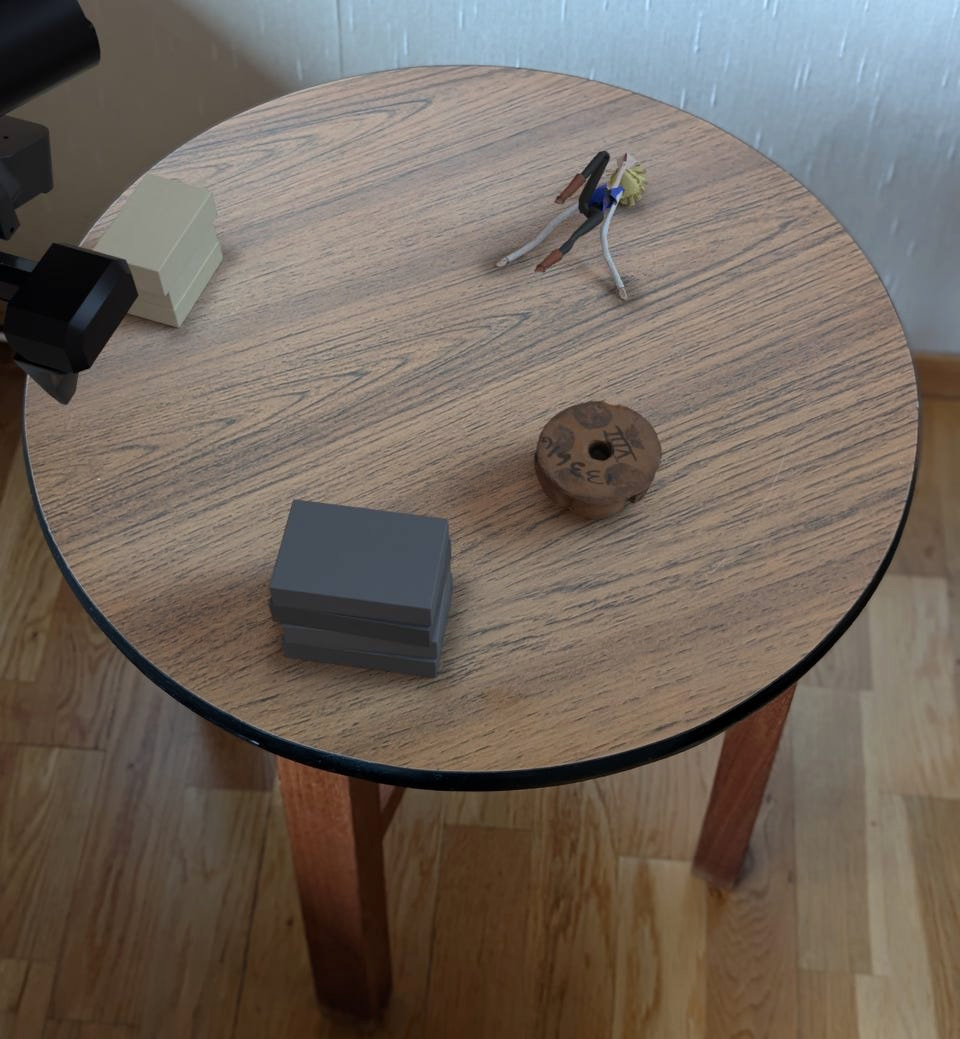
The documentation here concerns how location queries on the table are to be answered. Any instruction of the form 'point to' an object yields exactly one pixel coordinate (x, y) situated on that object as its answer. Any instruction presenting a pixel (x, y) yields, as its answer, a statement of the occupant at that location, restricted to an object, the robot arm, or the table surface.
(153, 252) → the cream block
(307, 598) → the grey stack
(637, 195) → the figurine
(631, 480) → the artifact
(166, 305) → the sage lidded box
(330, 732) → the table surface
